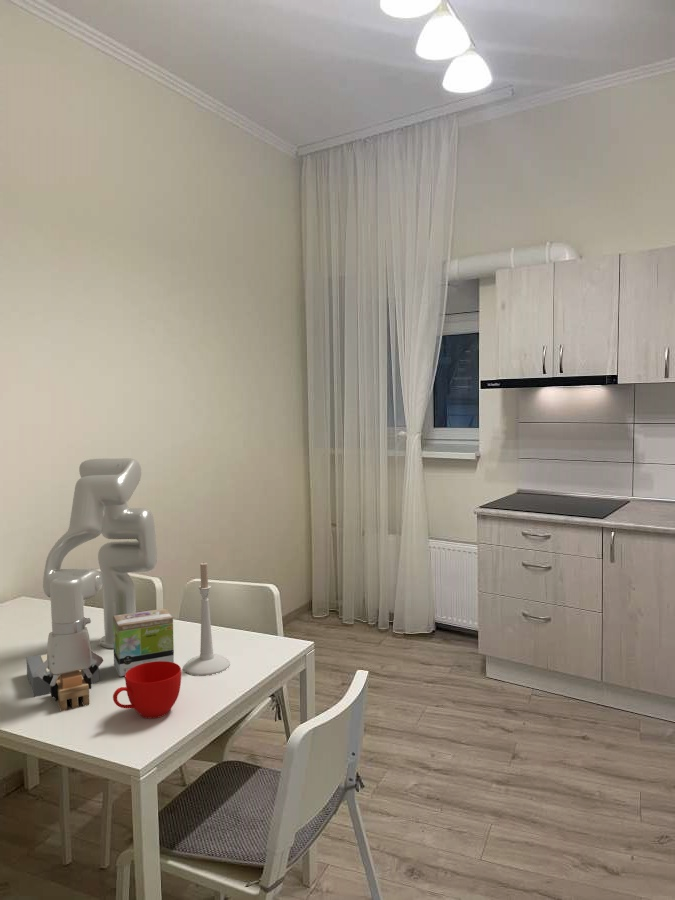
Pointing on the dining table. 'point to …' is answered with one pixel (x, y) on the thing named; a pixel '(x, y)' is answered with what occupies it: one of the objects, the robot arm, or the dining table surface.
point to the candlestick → (206, 637)
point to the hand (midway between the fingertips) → (71, 695)
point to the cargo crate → (71, 679)
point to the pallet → (72, 695)
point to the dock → (39, 684)
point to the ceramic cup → (151, 688)
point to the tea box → (142, 639)
